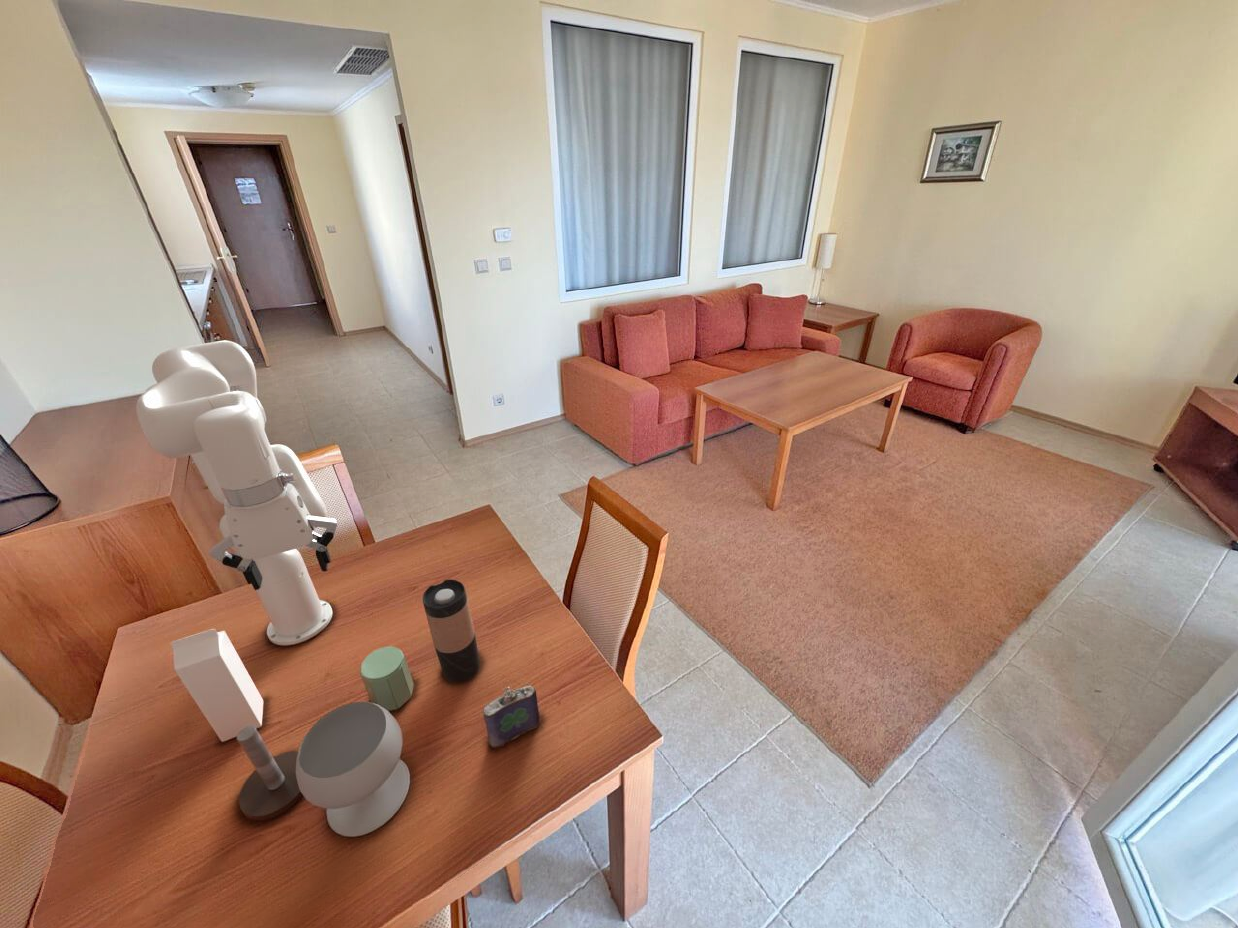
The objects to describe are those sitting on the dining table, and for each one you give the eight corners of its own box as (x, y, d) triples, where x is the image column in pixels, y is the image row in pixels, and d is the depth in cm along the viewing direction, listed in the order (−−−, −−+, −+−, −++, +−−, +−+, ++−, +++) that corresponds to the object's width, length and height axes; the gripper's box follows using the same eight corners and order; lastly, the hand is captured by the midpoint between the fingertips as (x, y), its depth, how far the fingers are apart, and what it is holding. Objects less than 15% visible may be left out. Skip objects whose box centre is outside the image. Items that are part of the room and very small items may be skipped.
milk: (262, 726, 89) (212, 641, 78) (221, 743, 87) (164, 657, 76) (264, 700, 94) (217, 616, 83) (225, 714, 91) (172, 630, 80)
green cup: (365, 698, 94) (352, 666, 90) (398, 672, 99) (387, 640, 95) (387, 717, 90) (375, 685, 86) (420, 689, 96) (410, 657, 91)
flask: (492, 751, 85) (483, 711, 80) (487, 736, 87) (478, 697, 82) (542, 724, 89) (537, 685, 84) (536, 712, 91) (530, 672, 86)
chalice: (413, 827, 75) (390, 770, 67) (310, 858, 71) (274, 802, 64) (418, 740, 86) (399, 684, 79) (330, 764, 83) (302, 707, 76)
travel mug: (470, 686, 96) (452, 611, 86) (434, 680, 97) (413, 605, 88) (487, 655, 102) (472, 581, 93) (453, 649, 104) (435, 576, 94)
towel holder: (246, 771, 82) (212, 718, 75) (314, 745, 86) (287, 692, 79) (236, 832, 74) (196, 780, 68) (311, 801, 78) (281, 747, 71)
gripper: (321, 464, 81) (349, 547, 89) (190, 490, 74) (235, 577, 82) (319, 485, 75) (350, 573, 83) (177, 515, 68) (226, 607, 76)
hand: (292, 575), depth 83 cm, fingers open, 9 cm apart
